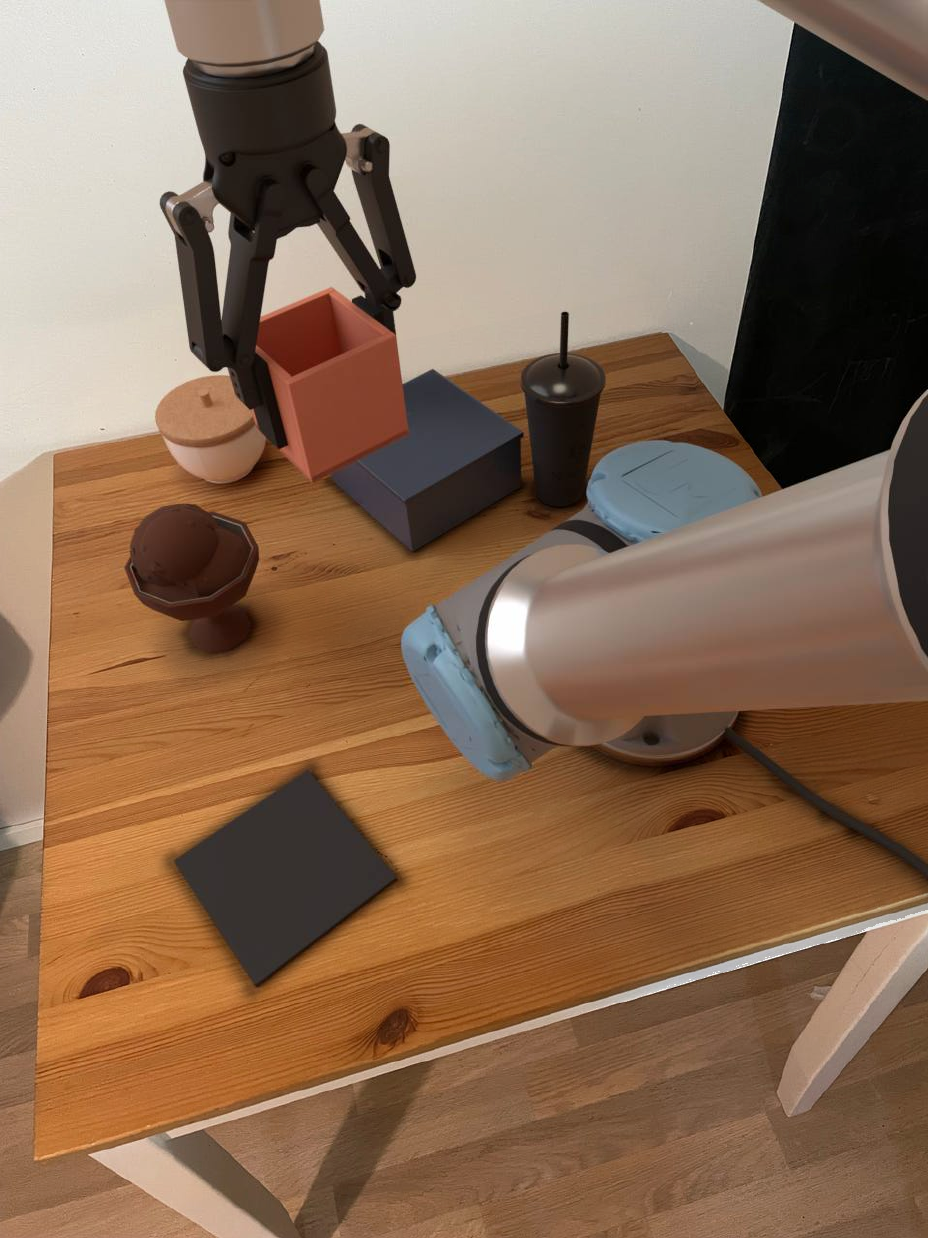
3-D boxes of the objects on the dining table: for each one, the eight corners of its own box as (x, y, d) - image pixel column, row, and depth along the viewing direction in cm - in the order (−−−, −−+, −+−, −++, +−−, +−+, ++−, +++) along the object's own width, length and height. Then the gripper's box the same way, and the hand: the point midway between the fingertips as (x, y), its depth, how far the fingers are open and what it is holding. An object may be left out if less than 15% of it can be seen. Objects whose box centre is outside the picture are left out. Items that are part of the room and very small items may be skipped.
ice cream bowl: (304, 624, 84) (269, 502, 73) (203, 698, 79) (148, 579, 68) (235, 567, 89) (192, 445, 78) (136, 634, 84) (75, 513, 73)
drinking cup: (505, 491, 94) (501, 314, 78) (558, 456, 97) (563, 279, 82) (560, 528, 90) (566, 350, 75) (613, 490, 93) (629, 311, 78)
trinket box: (286, 434, 102) (268, 361, 95) (263, 500, 95) (241, 427, 88) (193, 432, 103) (168, 360, 96) (163, 497, 96) (134, 425, 89)
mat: (397, 879, 68) (396, 877, 67) (256, 987, 63) (254, 985, 63) (308, 771, 74) (307, 769, 74) (175, 862, 69) (173, 860, 69)
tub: (409, 434, 65) (396, 334, 59) (312, 483, 62) (288, 384, 56) (349, 383, 70) (331, 286, 63) (256, 427, 67) (228, 329, 61)
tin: (524, 486, 94) (523, 431, 89) (412, 554, 89) (404, 500, 84) (437, 422, 102) (432, 368, 97) (329, 481, 97) (318, 427, 91)
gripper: (381, -16, 53) (418, 333, 70) (31, 86, 46) (169, 448, 63) (459, 14, 49) (478, 377, 66) (88, 131, 42) (219, 505, 59)
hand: (327, 411), depth 65 cm, fingers closed on tub, 8 cm apart
